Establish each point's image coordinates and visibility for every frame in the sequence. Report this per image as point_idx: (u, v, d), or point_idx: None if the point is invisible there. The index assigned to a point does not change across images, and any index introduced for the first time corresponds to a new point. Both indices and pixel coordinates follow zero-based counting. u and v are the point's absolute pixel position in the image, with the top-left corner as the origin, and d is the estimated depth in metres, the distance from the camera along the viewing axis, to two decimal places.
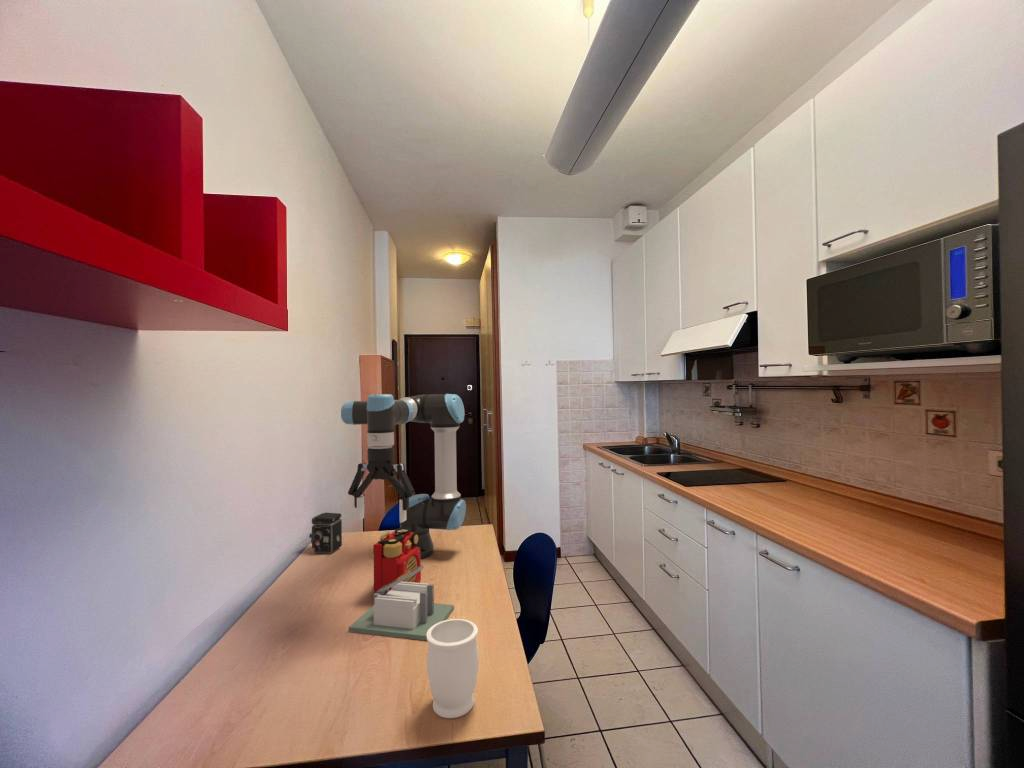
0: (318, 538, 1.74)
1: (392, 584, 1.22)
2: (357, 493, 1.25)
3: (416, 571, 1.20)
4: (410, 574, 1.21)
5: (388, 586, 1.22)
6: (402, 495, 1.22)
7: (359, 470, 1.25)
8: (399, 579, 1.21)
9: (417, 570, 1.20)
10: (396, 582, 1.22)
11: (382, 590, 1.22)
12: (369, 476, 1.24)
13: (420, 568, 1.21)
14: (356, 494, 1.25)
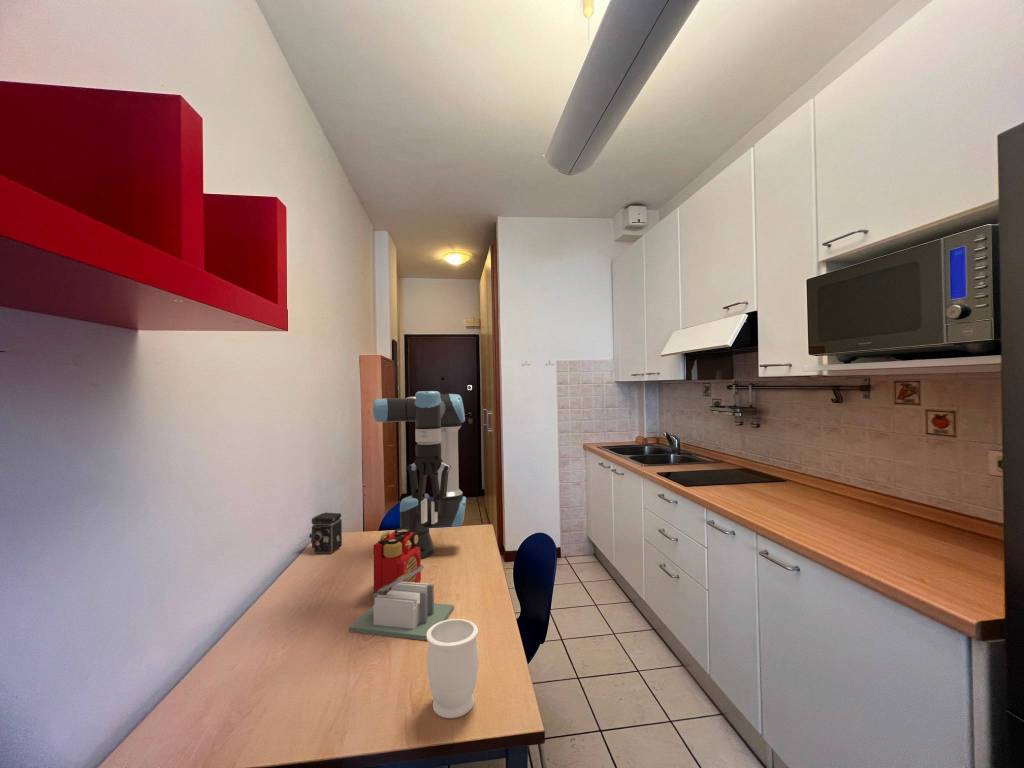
0: (318, 538, 1.74)
1: (392, 584, 1.22)
2: (420, 495, 1.26)
3: (416, 571, 1.20)
4: (410, 574, 1.21)
5: (388, 586, 1.22)
6: (435, 497, 1.25)
7: (410, 471, 1.27)
8: (399, 579, 1.21)
9: (417, 570, 1.20)
10: (396, 582, 1.22)
11: (382, 590, 1.22)
12: (421, 473, 1.26)
13: (420, 568, 1.21)
14: (419, 497, 1.26)
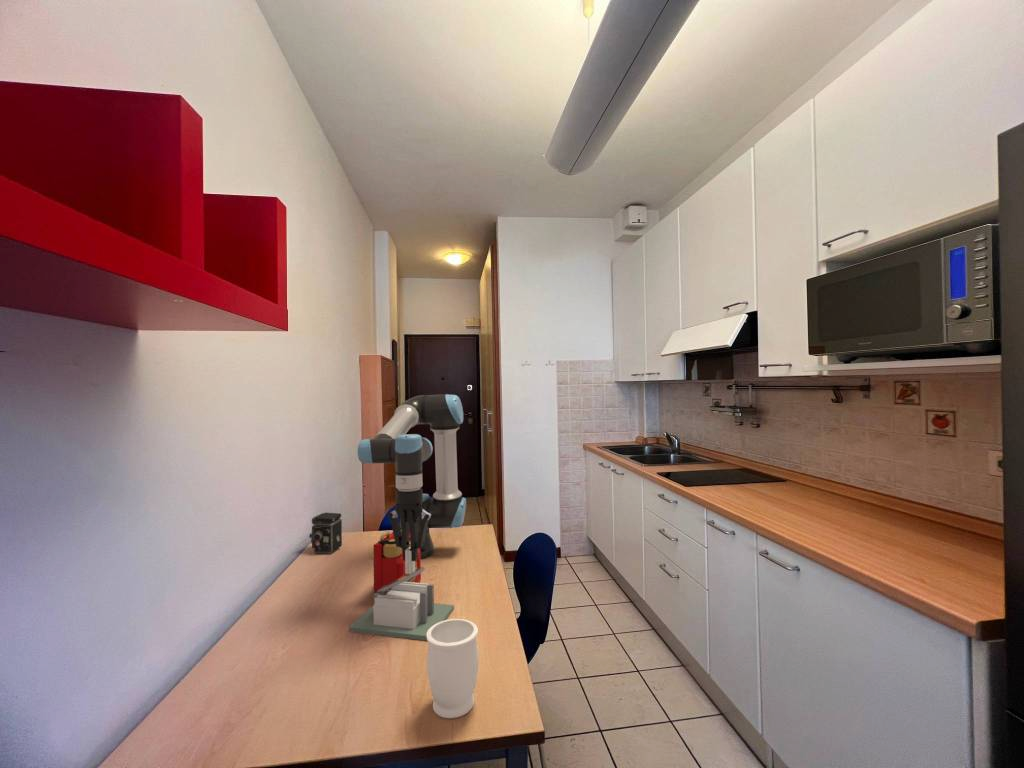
0: (318, 538, 1.74)
1: (392, 585, 1.22)
2: (404, 544, 1.22)
3: (417, 573, 1.20)
4: (411, 575, 1.21)
5: (388, 586, 1.22)
6: (412, 545, 1.21)
7: (391, 519, 1.23)
8: (400, 580, 1.21)
9: (418, 572, 1.20)
10: (397, 583, 1.22)
11: (382, 590, 1.22)
12: (403, 521, 1.21)
13: (421, 570, 1.21)
14: (404, 545, 1.22)
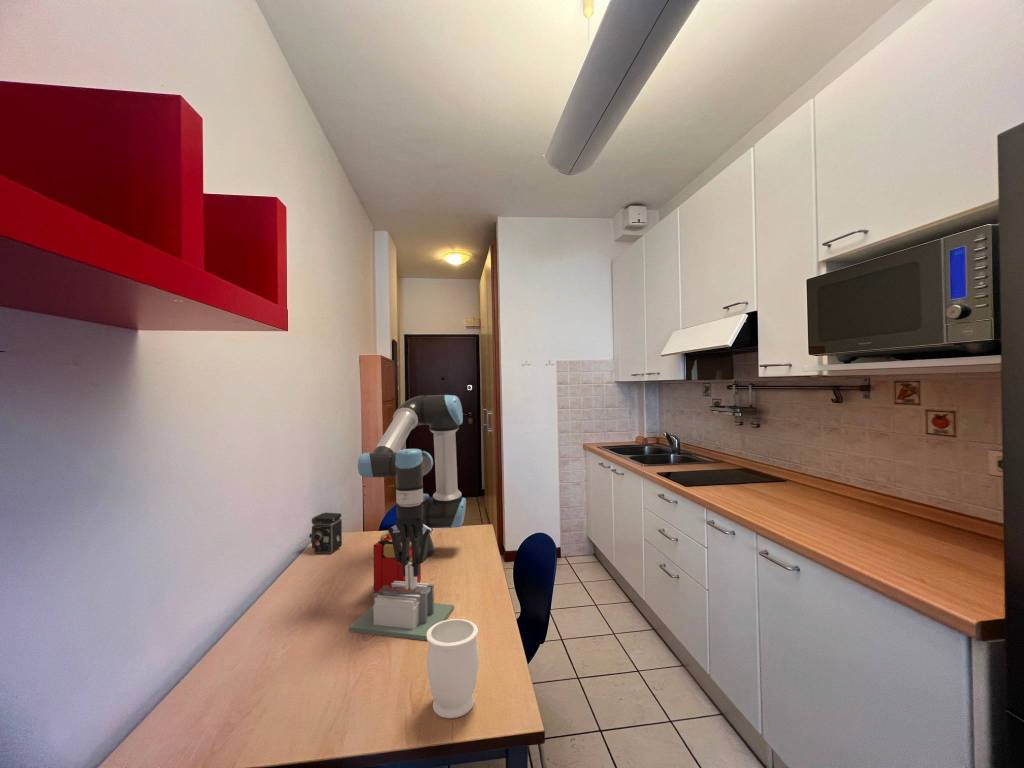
0: (318, 538, 1.74)
1: (395, 592, 1.22)
2: (404, 559, 1.21)
3: None
4: (416, 593, 1.20)
5: (391, 592, 1.22)
6: (414, 561, 1.21)
7: (392, 534, 1.22)
8: (404, 591, 1.21)
9: None
10: (400, 593, 1.21)
11: (384, 593, 1.22)
12: (403, 536, 1.21)
13: (428, 591, 1.21)
14: (404, 561, 1.21)
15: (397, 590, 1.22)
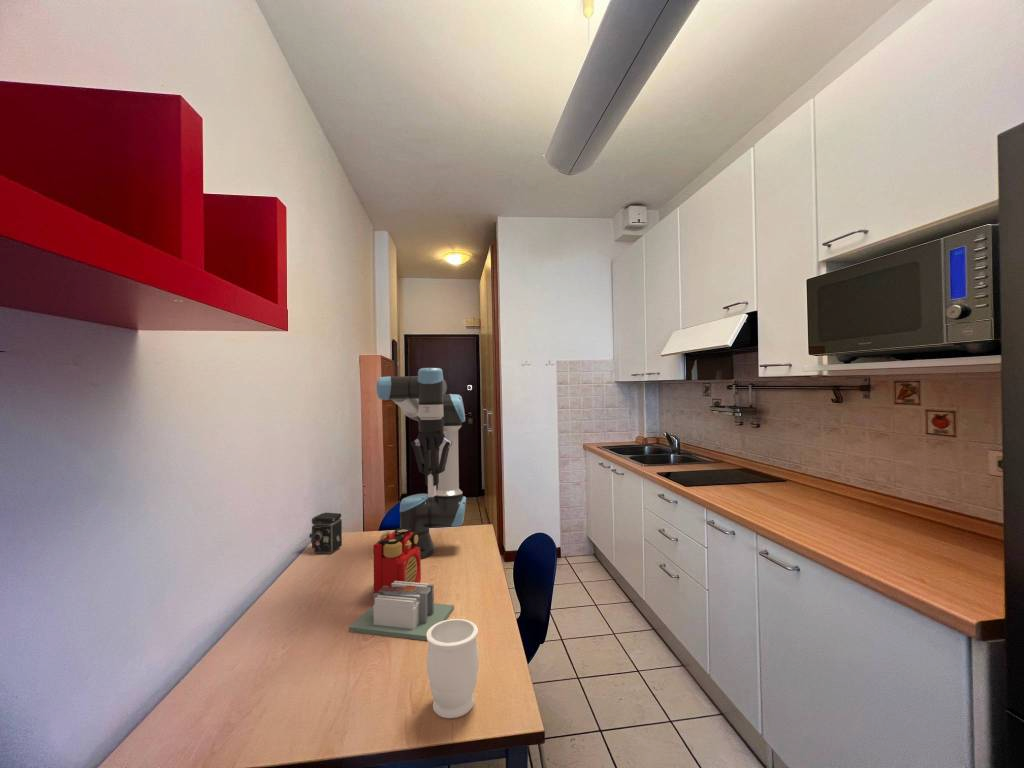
0: (318, 538, 1.74)
1: (396, 592, 1.22)
2: (426, 470, 1.30)
3: None
4: (416, 593, 1.20)
5: (391, 592, 1.22)
6: (434, 471, 1.29)
7: (415, 447, 1.31)
8: (404, 591, 1.21)
9: None
10: (400, 593, 1.21)
11: (384, 593, 1.22)
12: (425, 448, 1.29)
13: (428, 591, 1.21)
14: (426, 471, 1.30)
15: (397, 590, 1.22)
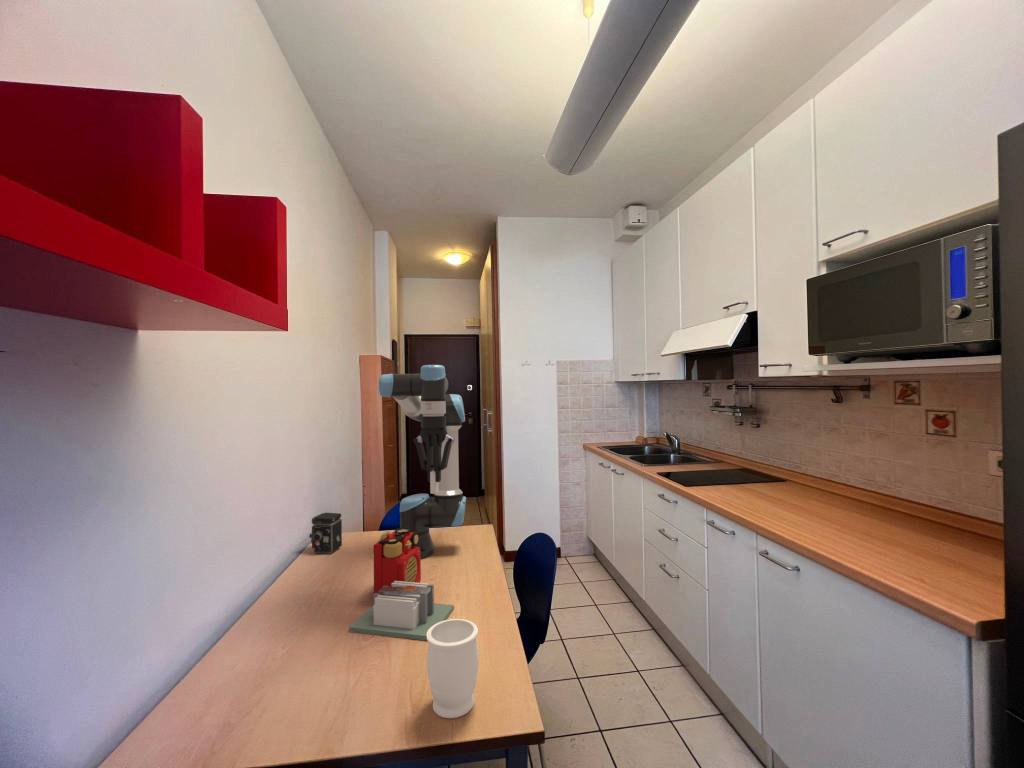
0: (318, 538, 1.74)
1: (396, 592, 1.22)
2: (429, 466, 1.30)
3: None
4: (416, 593, 1.20)
5: (391, 592, 1.22)
6: (436, 467, 1.30)
7: (417, 443, 1.31)
8: (404, 591, 1.21)
9: None
10: (400, 593, 1.21)
11: (384, 593, 1.22)
12: (427, 444, 1.30)
13: (428, 591, 1.21)
14: (428, 468, 1.30)
15: (397, 590, 1.22)
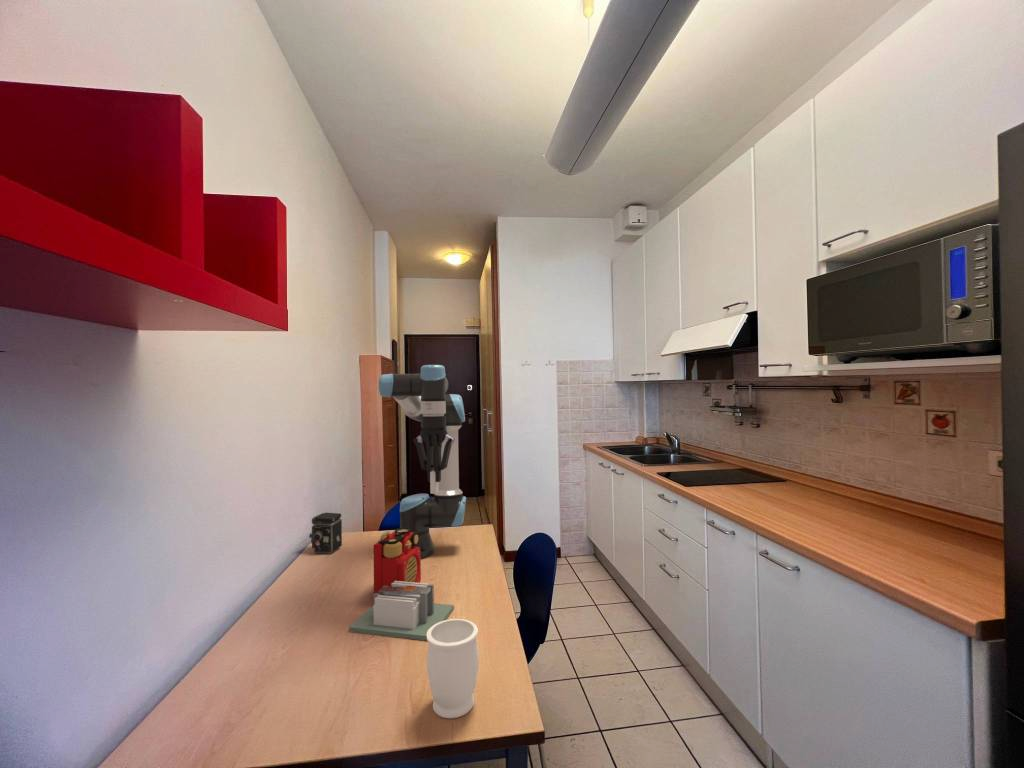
0: (318, 538, 1.74)
1: (396, 592, 1.22)
2: (429, 466, 1.30)
3: None
4: (416, 593, 1.20)
5: (391, 592, 1.22)
6: (436, 467, 1.30)
7: (417, 443, 1.31)
8: (404, 591, 1.21)
9: None
10: (400, 593, 1.21)
11: (384, 593, 1.22)
12: (428, 444, 1.30)
13: (428, 591, 1.21)
14: (428, 468, 1.30)
15: (397, 590, 1.22)
